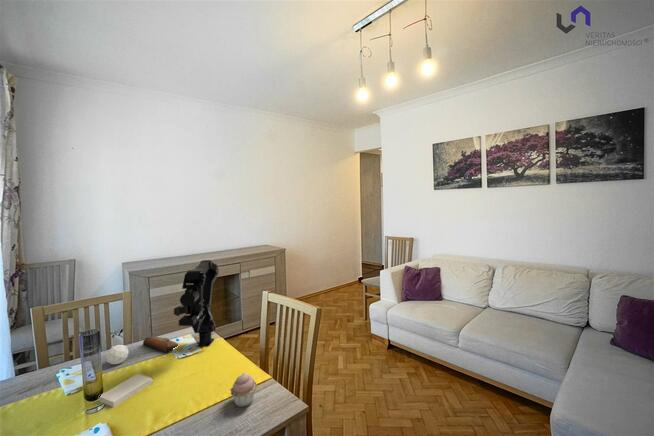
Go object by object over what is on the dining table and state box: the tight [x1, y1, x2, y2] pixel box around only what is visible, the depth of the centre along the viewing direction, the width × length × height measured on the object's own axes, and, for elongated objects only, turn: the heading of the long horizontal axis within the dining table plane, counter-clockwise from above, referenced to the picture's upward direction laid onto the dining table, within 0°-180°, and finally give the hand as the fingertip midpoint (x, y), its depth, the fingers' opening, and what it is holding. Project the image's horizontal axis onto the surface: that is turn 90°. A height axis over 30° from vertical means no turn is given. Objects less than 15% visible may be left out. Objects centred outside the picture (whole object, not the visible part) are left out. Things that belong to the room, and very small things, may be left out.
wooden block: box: [98, 373, 153, 408], centre depth 103 cm, size 2×8×14 cm
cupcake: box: [229, 372, 258, 408], centre depth 98 cm, size 9×9×10 cm
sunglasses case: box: [142, 336, 179, 354], centre depth 135 cm, size 18×7×7 cm
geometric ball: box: [105, 344, 130, 365], centre depth 121 cm, size 8×8×8 cm
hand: (196, 332), depth 124 cm, fingers closed
